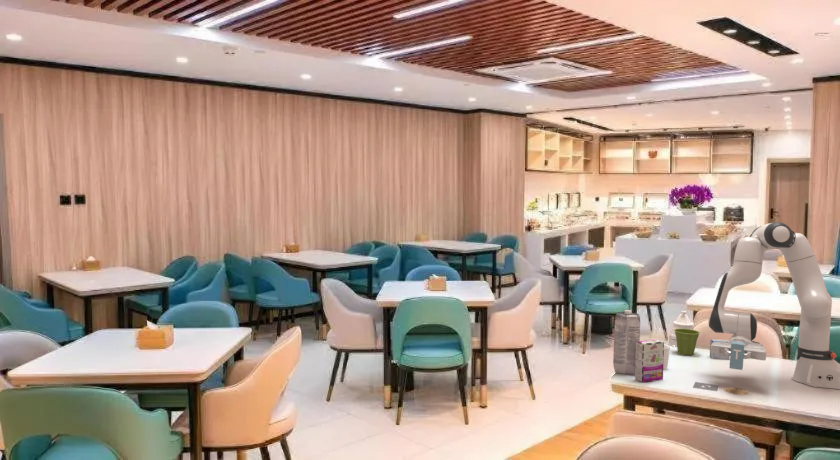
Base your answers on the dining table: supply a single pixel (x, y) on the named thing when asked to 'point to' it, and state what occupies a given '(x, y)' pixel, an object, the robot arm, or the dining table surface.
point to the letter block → (736, 355)
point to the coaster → (736, 391)
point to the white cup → (666, 357)
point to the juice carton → (626, 342)
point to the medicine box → (718, 356)
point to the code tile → (706, 386)
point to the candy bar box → (649, 360)
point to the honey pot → (680, 327)
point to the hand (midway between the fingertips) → (737, 355)
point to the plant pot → (686, 340)
